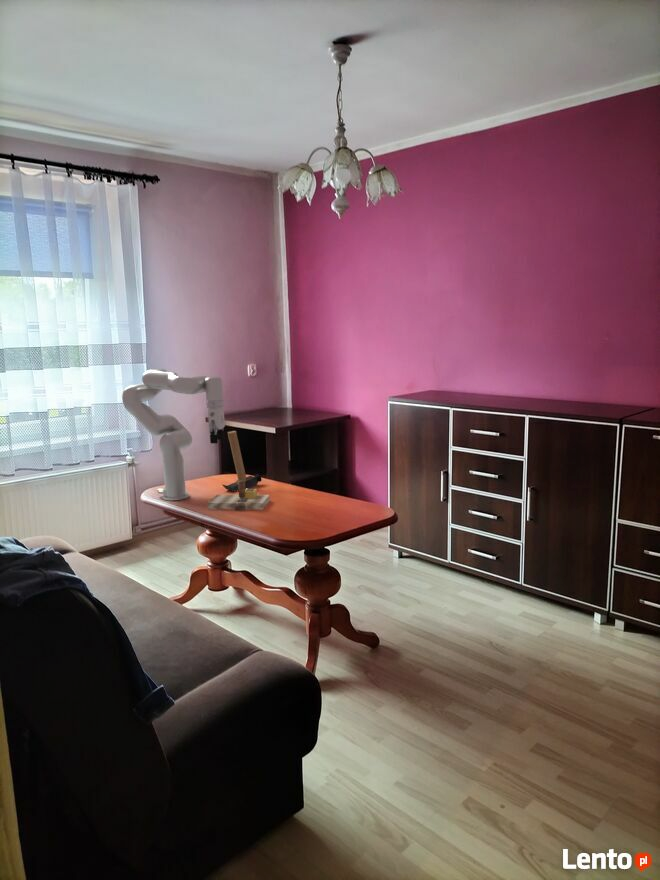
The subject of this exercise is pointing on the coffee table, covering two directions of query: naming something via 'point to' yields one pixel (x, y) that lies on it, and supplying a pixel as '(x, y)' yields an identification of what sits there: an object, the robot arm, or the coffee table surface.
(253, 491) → the block
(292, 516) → the coffee table surface
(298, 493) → the coffee table surface
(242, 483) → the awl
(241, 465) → the hammer
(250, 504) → the board
